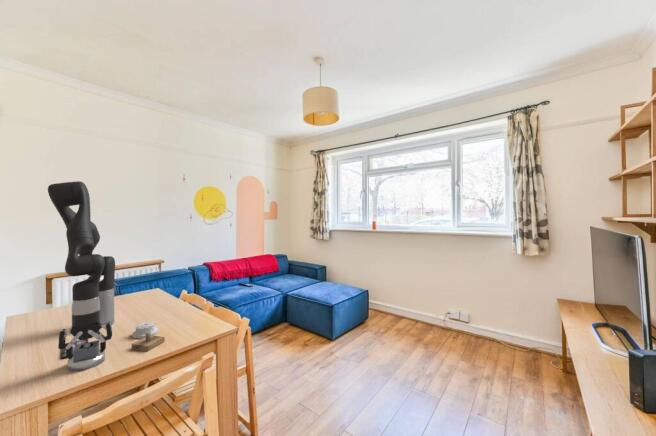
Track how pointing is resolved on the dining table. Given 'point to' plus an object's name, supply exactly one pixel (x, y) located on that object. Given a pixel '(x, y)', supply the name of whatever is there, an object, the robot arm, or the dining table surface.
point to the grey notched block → (86, 352)
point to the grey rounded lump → (145, 330)
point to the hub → (86, 361)
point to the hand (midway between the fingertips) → (86, 354)
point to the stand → (148, 342)
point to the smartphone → (63, 354)
